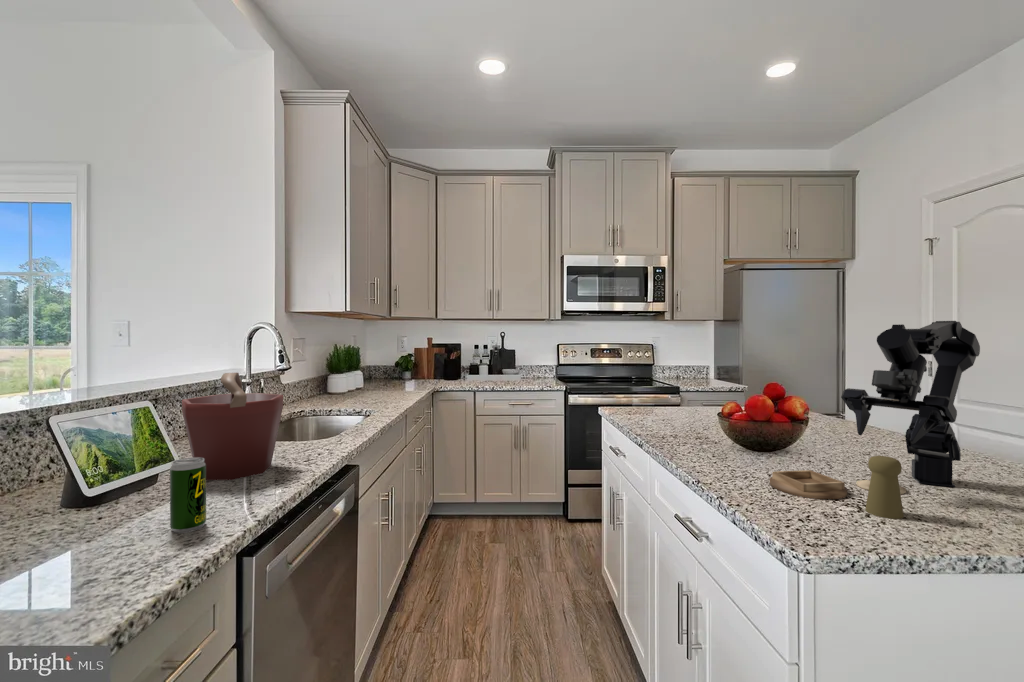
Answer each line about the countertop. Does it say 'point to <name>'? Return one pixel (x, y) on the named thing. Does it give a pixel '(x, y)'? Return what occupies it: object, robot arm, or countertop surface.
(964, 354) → the robot arm
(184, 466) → the green soda can
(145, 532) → the countertop surface
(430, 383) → the countertop surface
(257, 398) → the bucket
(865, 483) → the cork coaster
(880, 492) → the pepper shaker
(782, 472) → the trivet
